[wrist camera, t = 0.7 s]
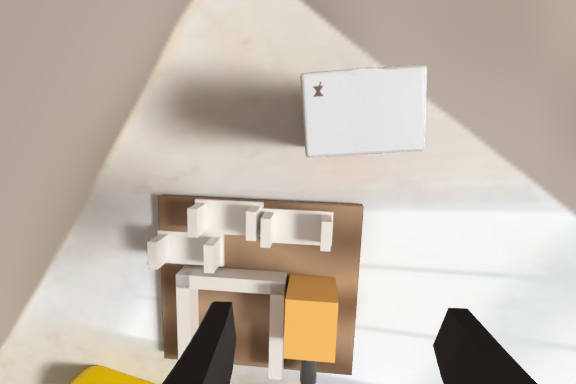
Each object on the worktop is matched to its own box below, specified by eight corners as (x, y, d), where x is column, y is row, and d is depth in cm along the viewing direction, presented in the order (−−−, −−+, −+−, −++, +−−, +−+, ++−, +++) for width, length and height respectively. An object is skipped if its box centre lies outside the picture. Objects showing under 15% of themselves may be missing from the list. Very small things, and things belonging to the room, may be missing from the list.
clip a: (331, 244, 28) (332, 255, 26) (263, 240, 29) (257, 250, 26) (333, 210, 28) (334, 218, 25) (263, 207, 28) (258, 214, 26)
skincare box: (308, 149, 28) (301, 159, 16) (306, 97, 27) (297, 69, 16) (380, 145, 28) (427, 152, 16) (380, 93, 27) (428, 59, 15)
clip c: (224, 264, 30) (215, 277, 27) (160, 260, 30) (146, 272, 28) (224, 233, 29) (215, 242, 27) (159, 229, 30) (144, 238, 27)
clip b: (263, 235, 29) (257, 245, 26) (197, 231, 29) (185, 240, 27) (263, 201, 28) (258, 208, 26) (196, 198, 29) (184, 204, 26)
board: (350, 367, 31) (351, 375, 30) (169, 351, 33) (164, 358, 32) (361, 204, 29) (363, 206, 28) (163, 194, 30) (157, 196, 29)
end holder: (284, 364, 31) (281, 379, 29) (187, 355, 32) (178, 370, 30) (286, 272, 29) (284, 282, 27) (184, 265, 30) (175, 274, 28)
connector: (329, 372, 30) (331, 412, 26) (287, 368, 31) (281, 407, 26) (335, 277, 29) (338, 303, 24) (290, 274, 29) (285, 299, 25)
